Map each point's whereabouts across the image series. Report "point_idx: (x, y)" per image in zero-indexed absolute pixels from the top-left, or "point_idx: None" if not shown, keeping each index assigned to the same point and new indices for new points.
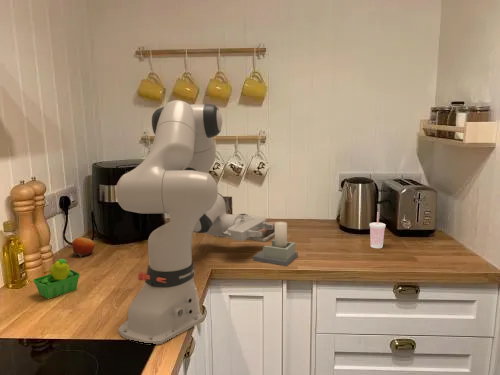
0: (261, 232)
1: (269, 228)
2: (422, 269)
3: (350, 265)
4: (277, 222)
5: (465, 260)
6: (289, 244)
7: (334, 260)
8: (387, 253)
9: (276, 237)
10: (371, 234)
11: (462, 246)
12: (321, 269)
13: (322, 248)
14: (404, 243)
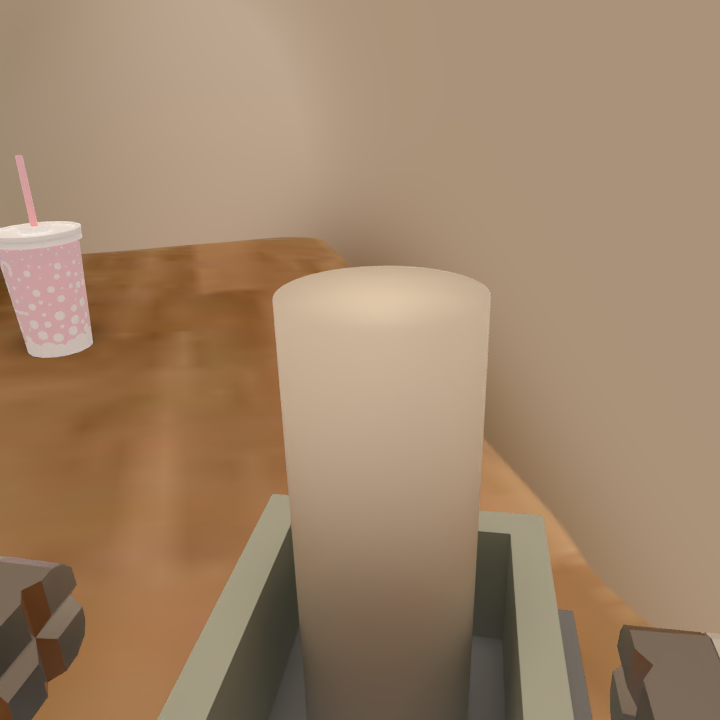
0: (668, 633)
1: (39, 661)
2: None
3: None
4: (339, 316)
5: (236, 252)
6: (288, 550)
7: None
8: (171, 326)
9: (471, 520)
10: (55, 287)
11: (105, 253)
12: (494, 456)
13: (41, 497)
14: None
